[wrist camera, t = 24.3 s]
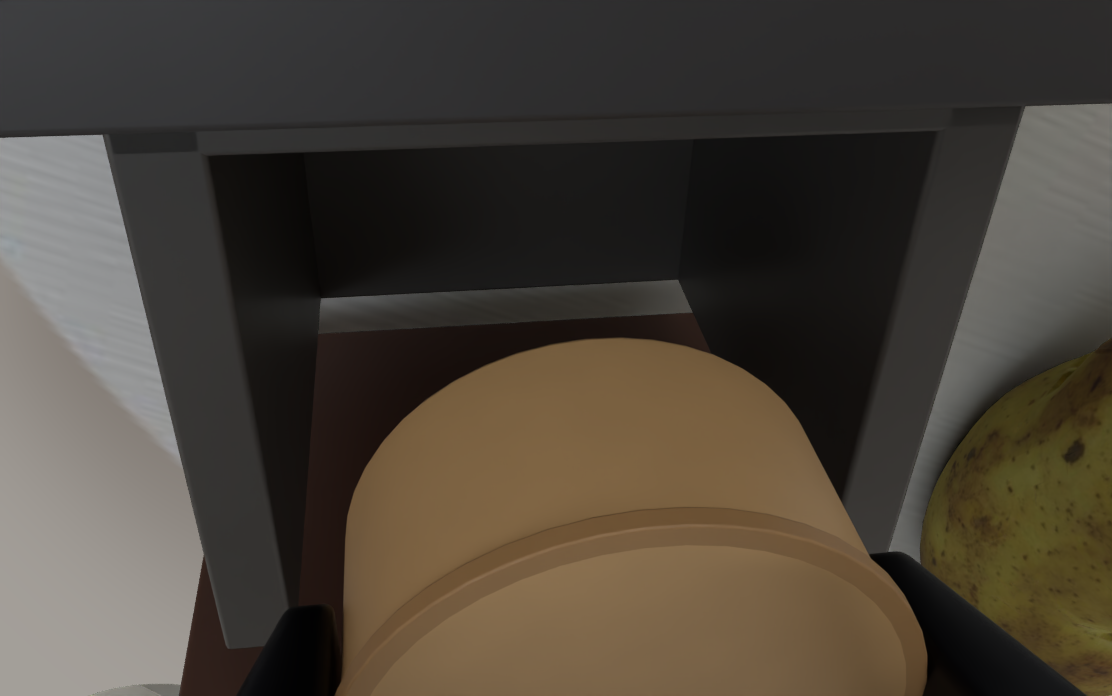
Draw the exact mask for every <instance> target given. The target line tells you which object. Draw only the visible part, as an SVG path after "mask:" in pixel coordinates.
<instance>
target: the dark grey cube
mask: <svg viewBox="0 0 1112 696" xmlns="http://www.w3.org/2000/svg"><path fill="white" fill-rule="evenodd" d="M1108 103H1112V0H0V138H5V137H37V136H70V135H102V134H135V133H167V132H200V131H232V130H264V129H297V128H329V127H362V126H394V125H427V124H459V123H492V122H524V121H557V120H589V119H621V118H654V117H686V116H719V115H751V114H784V113H816V112H849V111H881V110H913V109H946V108H978V107H1011V106H1043V105H1076V104H1108Z"/></svg>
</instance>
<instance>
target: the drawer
mask: <svg viewBox="0 0 1112 696" xmlns="http://www.w3.org/2000/svg"><path fill="white" fill-rule="evenodd" d="M1024 108H1025V106H1011V107H978V108H946V109H913V110H881V111H849V112H816V113H784V114H751V115H719V116H686V117H654V118H621V119H589V120H557V121H524V122H492V123H459V124H427V125H394V126H362V127H329V128H297V129H264V130H232V131H200V132H167V133H135V134H103V138H104V142H105V146H106V150H107V154H108V159H109V163H110V167H111V171H112V175H113V179H114V183H115V188H116V192H117V196H118V200H119V204H120V208H121V213H122V217H123V221H124V225H125V229H126V233H127V237H128V242H129V246H130V250H131V254H132V258H133V262H134V266H135V271H136V275H137V279H138V283H139V287H140V291H141V295H142V300H143V304H144V308H145V312H146V316H147V320H148V324H149V329H150V333H151V337H152V341H153V345H154V349H155V353H156V358H157V362H158V366H159V370H160V374H161V378H162V382H163V387H164V391H165V395H166V399H167V403H168V407H169V411H170V416H171V420H172V424H173V428H174V432H175V436H176V440H177V445H178V449H179V453H180V457H181V461H182V465H183V469H184V474H185V478H186V482H187V486H188V490H189V494H190V498H191V502H192V507H193V511H194V515H195V519H196V523H197V527H198V532H199V536H200V540H201V544H202V548H203V552H204V557H203V563H202V569H201V574H200V579H199V585H198V591H197V597H196V602H195V608H194V613H193V619H192V625H191V630H190V636H189V642H188V648H187V653H186V659H185V665H184V670H183V676H182V682H181V687H180V693H179V696H236V695H237V693H238V691H239V689H240V688H241V686H242V684H243V682H244V681H245V679H246V677H247V675H248V674H249V672H250V670H251V669H252V667H253V665H254V663H255V662H256V660H257V658H258V656H259V655H260V653H261V651H262V649H263V648H264V646H265V644H266V642H267V641H268V639H269V637H270V636H271V634H272V632H273V630H274V629H275V627H276V625H277V623H278V622H279V620H280V618H281V617H282V615H283V614H284V612H285V611H286V610H288V609H289V608H291V607H295V606H306V605H317V604H328V605H330V606H332V607H333V609H334V612H335V617H336V624H337V631H338V638H339V645H340V652H341V659H342V628H343V597H344V565H345V537H346V526H347V515H348V512H349V508H350V504H351V501H352V497H353V494H354V491H355V488H356V486H357V484H358V482H359V480H360V478H361V476H362V474H363V471H364V469H365V467H366V466H367V464H368V463H369V461H370V460H371V458H372V457H373V455H374V454H375V452H376V451H377V449H378V448H379V446H380V445H381V444H382V442H383V441H384V440H385V439H386V437H387V436H388V435H389V434H390V433H391V432H392V431H393V430H394V429H395V428H396V426H397V425H398V424H399V423H400V422H401V421H402V420H403V419H404V418H405V417H406V416H407V415H408V414H410V413H411V412H412V411H413V410H414V409H415V408H417V407H418V406H419V405H420V404H421V403H423V402H424V401H425V400H426V399H427V398H429V397H430V396H432V395H433V394H435V393H436V392H438V391H439V390H441V389H442V388H444V387H445V386H447V385H448V384H450V383H451V382H453V381H454V380H456V379H458V378H460V377H462V376H464V375H466V374H468V373H470V372H472V371H474V370H476V369H478V368H480V367H482V366H484V365H486V364H489V363H492V362H494V361H497V360H500V359H502V358H505V357H507V356H510V355H513V354H515V353H518V352H522V351H526V350H530V349H534V348H538V347H541V346H545V345H549V344H554V343H561V342H567V341H574V340H581V339H591V338H615V337H624V338H638V339H653V340H659V341H664V342H669V343H674V344H680V345H685V346H688V347H691V348H694V349H697V350H701V351H704V352H707V353H710V354H713V355H715V356H717V357H720V358H722V359H724V360H726V361H728V362H730V363H732V364H734V365H736V366H738V367H740V368H742V369H744V370H745V371H747V372H748V373H750V374H751V375H753V376H754V377H756V378H757V379H759V380H760V381H762V382H763V383H765V384H766V385H767V386H768V387H769V388H770V389H771V390H773V391H774V392H775V393H776V394H777V395H778V396H779V397H780V398H781V399H782V400H783V401H784V402H785V403H786V404H787V406H788V407H789V408H790V410H791V411H792V412H793V414H794V415H795V416H796V418H797V419H798V420H799V422H800V424H801V426H802V428H803V430H804V432H805V434H806V435H807V437H808V439H809V441H810V443H811V445H812V447H813V449H814V451H815V453H816V455H817V456H818V458H819V460H820V462H821V464H822V466H823V468H824V470H825V472H826V474H827V476H828V478H829V479H830V481H831V483H832V485H833V487H834V489H835V491H836V493H837V495H838V497H839V499H840V501H841V502H842V504H843V506H844V508H845V510H846V512H847V514H848V516H849V518H850V520H851V522H852V524H853V525H854V527H855V529H856V531H857V533H858V535H859V537H860V539H861V541H862V543H863V545H864V546H865V548H866V550H867V552H868V554H873V553H884V552H888V550H889V547H890V543H891V540H892V537H893V534H894V530H895V527H896V524H897V521H898V517H899V514H900V511H901V508H902V504H903V501H904V498H905V495H906V491H907V488H908V485H909V482H910V478H911V475H912V472H913V469H914V465H915V462H916V459H917V456H918V452H919V449H920V446H921V443H922V439H923V436H924V433H925V430H926V426H927V423H928V420H929V417H930V413H931V410H932V407H933V404H934V400H935V397H936V394H937V391H938V387H939V384H940V381H941V378H942V374H943V371H944V368H945V365H946V361H947V358H948V355H949V352H950V348H951V345H952V342H953V339H954V335H955V332H956V329H957V326H958V322H959V319H960V316H961V313H962V309H963V306H964V303H965V300H966V296H967V293H968V290H969V287H970V283H971V280H972V277H973V274H974V270H975V267H976V264H977V261H978V257H979V254H980V251H981V248H982V244H983V241H984V238H985V235H986V231H987V228H988V225H989V222H990V218H991V215H992V212H993V209H994V205H995V202H996V199H997V196H998V192H999V189H1000V186H1001V183H1002V179H1003V176H1004V173H1005V170H1006V166H1007V163H1008V160H1009V156H1010V153H1011V150H1012V147H1013V143H1014V140H1015V137H1016V134H1017V130H1018V127H1019V124H1020V121H1021V118H1022V115H1023V111H1024ZM661 280H678V281H679V283H680V285H681V288H682V290H683V292H684V294H685V297H686V299H687V301H688V303H689V305H690V308H691V310H692V312H693V313H676V314H658V315H641V316H623V317H606V318H588V319H570V320H553V321H535V322H518V323H500V324H482V325H465V326H447V327H429V328H412V329H394V330H377V331H359V332H341V333H324V334H318V330H319V316H320V303H321V298H336V297H355V296H374V295H393V294H412V293H431V292H450V291H469V290H489V289H508V288H527V287H546V286H565V285H584V284H603V283H622V282H641V281H661Z"/></svg>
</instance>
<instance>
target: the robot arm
mask: <svg viewBox="0 0 1112 696" xmlns="http://www.w3.org/2000/svg"><path fill="white" fill-rule="evenodd" d="M869 556H870V558H871V559H872V560H873V561H874V562H875V563H877V564H878V565H879V566H880V567H881V568H882V569H883V570H885V571H886V572H887V573H888V574H889V576H890V577H891V578H892V579H893V581H894V582H895V583H896V585H897V586H898V587H899V588H900V590H901V591H902V592H903V594H904V595H905V597H906V599H907V601H908V603H909V605H910V607H911V608H912V610H913V613H914V615H915V617H916V619H917V621H918V623H919V625H920V627H921V629H922V632H923V637H924V641H925V646H926V651H927V683H926V686H925V689H924V692H923V695H922V696H1087V695H1086V694H1085V693H1083V692H1082V691H1081V690H1080V689H1078V688H1077V687H1076V686H1074V685H1073V684H1072V683H1071V682H1069V681H1068V680H1067V679H1066V678H1064V677H1063V676H1062V675H1060V674H1059V673H1058V672H1057V671H1055V670H1054V669H1053V668H1052V667H1050V666H1049V665H1048V664H1046V663H1045V662H1044V661H1043V660H1041V659H1040V658H1039V657H1038V656H1036V655H1035V654H1034V653H1033V652H1031V651H1030V650H1029V649H1027V648H1026V647H1025V646H1024V645H1022V644H1021V643H1020V642H1019V641H1017V640H1016V639H1015V638H1013V637H1012V636H1011V635H1010V634H1008V633H1007V632H1006V631H1005V630H1003V629H1002V628H1001V627H999V626H998V625H997V624H996V623H994V622H993V621H992V620H991V619H989V618H988V617H987V616H985V615H984V614H983V613H982V612H980V611H979V610H978V609H977V608H975V607H974V606H973V605H971V604H970V603H969V602H968V601H966V600H965V599H964V598H963V597H961V596H960V595H959V594H957V593H956V592H955V591H954V590H952V589H951V588H950V587H949V586H947V585H946V584H945V583H944V582H942V581H941V580H940V579H938V578H937V577H936V576H935V575H933V574H932V573H931V572H930V571H928V570H927V569H926V568H924V567H923V566H922V565H921V564H919V563H918V562H917V561H916V560H914V559H913V558H912V557H910V556H909V555H907V554H905V553H902V552H884V553H873V554H869ZM341 660H342V659H341V652H340V645H339V638H338V631H337V624H336V617H335V612H334V609H333V607H332V606H330V605H328V604H317V605H306V606H295V607H291V608H289V609H288V610H286V611H285V612H284V614H283V615H282V617H281V618H280V620H279V622H278V623H277V625H276V627H275V629H274V630H273V632H272V634H271V636H270V637H269V639H268V641H267V642H266V644H265V646H264V648H263V649H262V651H261V653H260V655H259V656H258V658H257V660H256V662H255V663H254V665H253V667H252V669H251V670H250V672H249V674H248V675H247V677H246V679H245V681H244V682H243V684H242V686H241V688H240V689H239V691H238V693H237V695H236V696H335V694H336V691H337V689H338V687H339V685H340V683H341Z"/></svg>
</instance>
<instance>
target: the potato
mask: <svg viewBox="0 0 1112 696" xmlns="http://www.w3.org/2000/svg"><path fill="white" fill-rule="evenodd" d="M920 560H921V565H922V566H923V567H924V568H926V569H927V570H928V571H930V572H931V573H932V574H933V575H935V576H936V577H937V578H938V579H940V580H941V581H942V582H944V583H945V584H946V585H947V586H949V587H950V588H951V589H952V590H954V591H955V592H956V593H957V594H959V595H960V596H961V597H963V598H964V599H965V600H966V601H968V602H969V603H970V604H971V605H973V606H974V607H975V608H977V609H978V610H979V611H980V612H982V613H983V614H984V615H985V616H987V617H988V618H989V619H991V620H992V621H993V622H994V623H996V624H997V625H998V626H999V627H1001V628H1002V629H1003V630H1005V631H1006V632H1007V633H1008V634H1010V635H1011V636H1012V637H1013V638H1015V639H1016V640H1017V641H1019V642H1020V643H1021V644H1022V645H1024V646H1025V647H1026V648H1027V649H1029V650H1030V651H1031V652H1033V653H1034V654H1035V655H1036V656H1038V657H1039V658H1040V659H1041V660H1043V661H1044V662H1045V663H1046V664H1048V665H1049V666H1050V667H1052V668H1053V669H1054V670H1055V671H1057V672H1058V673H1059V674H1060V675H1062V676H1063V677H1064V678H1066V679H1067V680H1068V681H1069V682H1071V683H1072V684H1073V685H1074V686H1076V687H1077V688H1078V689H1080V690H1081V691H1082V692H1083V693H1085V694H1086V695H1087V696H1110V695H1112V338H1110V339H1109V340H1107V341H1106V342H1105V343H1103V344H1102V345H1101V346H1100V347H1099V348H1097V349H1096V350H1095V351H1093V352H1091V353H1089V354H1086V355H1084V356H1081V357H1079V358H1076V359H1073V360H1070V361H1067V362H1065V363H1062V364H1060V365H1058V366H1056V367H1054V368H1051V369H1049V370H1047V371H1045V372H1043V373H1041V374H1039V375H1037V376H1035V377H1033V378H1031V379H1029V380H1027V381H1025V382H1023V383H1022V384H1020V385H1019V386H1017V387H1015V388H1014V389H1012V390H1010V391H1009V392H1007V393H1006V394H1005V395H1004V396H1002V397H1001V398H1000V399H999V400H998V401H997V402H996V403H995V404H994V405H992V406H991V407H990V408H989V409H988V410H987V411H986V412H985V413H984V415H983V416H982V417H981V418H980V419H979V420H978V421H977V423H976V424H975V425H974V426H973V427H972V428H971V430H970V431H969V432H968V434H967V435H966V436H965V438H964V439H963V441H962V442H961V443H960V445H959V446H958V447H957V449H956V450H955V452H954V453H953V455H952V456H951V458H950V460H949V461H948V463H947V464H946V466H945V468H944V469H943V471H942V473H941V475H940V477H939V479H938V481H937V483H936V485H935V488H934V490H933V493H932V495H931V498H930V501H929V503H928V507H927V510H926V514H925V517H924V521H923V528H922V535H921V543H920Z"/></svg>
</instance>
